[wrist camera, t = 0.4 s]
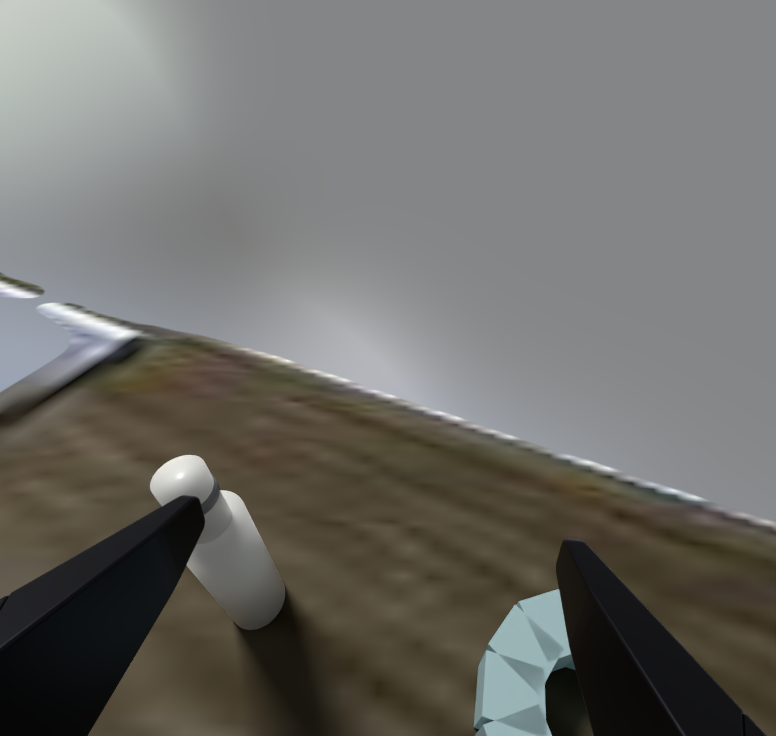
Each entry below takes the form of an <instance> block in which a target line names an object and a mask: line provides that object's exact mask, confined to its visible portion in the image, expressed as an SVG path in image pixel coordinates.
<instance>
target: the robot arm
mask: <svg viewBox="0 0 776 736" xmlns="http://www.w3.org/2000/svg"><path fill="white" fill-rule="evenodd" d="M204 526H205V517H204V513H203V510H202V506H201V502H200V499H199V498H198V497H196V496H188V495H182V496H179V497H177V498H176V499H174V500H172V501H170V502H169V503H167V504H165V505H163V506H162V507H160V508H158V509H156V510H155V511H153V512H151V513H150V514H148V515H146V516H144V517H143V518H141V519H139V520H137V521H136V522H134V523H132V524H130V525H129V526H127V527H125V528H123V529H122V530H120V531H118V532H116V533H115V534H113V535H111V536H110V537H108V538H106V539H104V540H103V541H101V542H99V543H97V544H96V545H94V546H92V547H90V548H89V549H87V550H85V551H83V552H82V553H80V554H78V555H76V556H75V557H73V558H71V559H69V560H68V561H66V562H64V563H63V564H61V565H59V566H57V567H56V568H54V569H52V570H50V571H49V572H47V573H45V574H43V575H42V576H40V577H38V578H36V579H35V580H33V581H31V582H29V583H28V584H26V585H24V586H22V587H21V588H19V589H17V590H15V591H14V592H12V593H11V594H10V595H9V596H5V597H3V598H1V599H0V736H88V734H89V732H90V731H91V729H92V727H93V726H94V724H95V722H96V721H97V719H98V717H99V716H100V714H101V712H102V710H103V709H104V707H105V705H106V704H107V702H108V700H109V699H110V697H111V695H112V694H113V692H114V690H115V689H116V687H117V685H118V684H119V682H120V680H121V679H122V677H123V675H124V673H125V672H126V670H127V668H128V667H129V665H130V663H131V662H132V660H133V658H134V657H135V655H136V653H137V652H138V650H139V648H140V647H141V645H142V643H143V642H144V640H145V638H146V636H147V635H148V633H149V631H150V630H151V628H152V626H153V625H154V623H155V621H156V620H157V618H158V616H159V615H160V613H161V611H162V610H163V608H164V606H165V605H166V603H167V601H168V599H169V598H170V596H171V594H172V592H173V591H174V589H175V587H176V585H177V583H178V581H179V579H180V577H181V575H182V573H183V571H184V569H185V567H186V565H187V563H188V561H189V558H190V556H191V554H192V552H193V550H194V548H195V546H196V544H197V542H198V540H199V538H200V536H201V533H202V531H203V529H204ZM556 574H557V580H558V585H559V591H560V597H561V603H562V609H563V614H564V620H565V626H566V632H567V637H568V642H569V647H570V651H571V655H572V659H573V663H574V667H575V670H576V674H577V678H578V681H579V685H580V688H581V692H582V696H583V699H584V703H585V706H586V710H587V714H588V717H589V721H590V724H591V728H592V732H593V735H594V736H767V735H766V734H765V733H764V732H763V731H762V730H761V729H760V728H759V727H758V726H757V725H756V724H755V723H754V722H753V721H752V719H751V718H750V717H749V716H748V715H746V714H743V712H742V709H741V708H740V707H739V706H738V705H737V704H736V703H735V702H734V700H733V699H732V698H731V697H730V696H729V695H728V694H727V693H726V692H725V691H724V690H723V689H722V688H721V687H720V686H719V684H718V683H717V682H716V681H715V680H714V679H713V678H712V677H711V676H710V675H709V674H708V673H707V672H706V671H705V670H704V668H703V667H702V666H701V665H700V664H699V663H698V662H697V661H696V660H695V659H694V658H693V657H692V656H691V655H690V654H689V652H688V651H687V650H686V649H685V648H684V647H683V646H682V645H681V644H680V643H679V642H678V641H677V640H676V639H675V638H674V636H673V635H672V634H671V633H670V632H669V631H668V630H667V629H666V628H665V627H664V626H663V625H662V624H661V623H660V622H659V620H658V619H657V618H656V617H655V616H654V615H653V614H652V613H651V612H650V611H649V610H648V609H647V608H646V607H645V606H644V604H643V603H642V602H641V601H640V600H639V599H638V598H637V597H636V596H635V595H634V594H633V593H632V592H631V591H630V590H629V588H628V587H627V586H626V585H625V584H624V583H623V582H622V581H621V580H620V579H619V578H618V577H617V576H616V575H615V574H614V572H613V571H612V570H611V569H610V568H609V567H608V566H607V565H606V564H605V563H604V562H603V561H602V560H601V559H600V558H599V556H598V555H597V554H596V553H595V552H594V551H593V550H592V549H591V548H590V547H589V546H588V545H587V544H586V543H585V542H584V541H582V540H576V539H564V540H563V542H562V545H561V548H560V552H559V555H558V559H557V563H556Z"/></svg>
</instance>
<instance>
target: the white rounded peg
mask: <svg viewBox="0 0 776 736" xmlns="http://www.w3.org/2000/svg"><path fill="white" fill-rule="evenodd" d="M150 489H151V492H152V493H153V495H154V496H155V497H156V499H157V500H158V501H159V503H160V506H161V507H162V506H163V505H165V504H167V503H169V502H170V501H172V500H174V499H176V498H177V497H179V496H182V495H188V496H196V497H198V498H199V499H200V502H201V506H202V510H203V513H204V517H205V526H204V529H203V531H202V533H201V536H200V538H199V540H198V542H197V544H196V546H195V548H194V550H193V552H192V554H191V556H190V558H189V561H188V563H187V566H188V568H189V569H190V570H191V571H192V572H193V574H194V575H195V576H196V577H197V578H198V579H199V581H200V582H201V583H202V584H203V585H204V587H205V588H206V589H207V590H208V591H209V593H210V594H211V595H212V596H213V597H214V598H215V600H216V601H217V602H218V603H219V604H220V606H221V607H222V608H223V609H224V610H225V612H226V613H227V614H228V615H229V616H230V617H231V619H232V620H233V621H234V622H235V623H236V624H237V625H238V626H239V627H240V628H242V629H246V630H256V629H259V628H262V627H264V626H266V625H267V624H269V623H270V622H271V621H272V620H273V619H274V618H275V617H276V616H277V615H278V613H279V612H280V610H281V608H282V606H283V603H284V600H285V586H284V583H283V580H282V578H281V576H280V574H279V572H278V570H277V568H276V566H275V564H274V562H273V560H272V558H271V556H270V554H269V553H268V551H267V549H266V547H265V545H264V543H263V541H262V539H261V537H260V535H259V533H258V531H257V529H256V527H255V525H254V523H253V521H252V519H251V517H250V515H249V513H248V511H247V509H246V507H245V505H244V503H243V501H242V499H241V498H240V497H239V496H238V495H236V494H235V493H233V492H230V491H223V490H220V488H219V485H218V483H217V481H216V479H215V478H214V476H213V474H212V473H211V472H210V471H209V469H208V468H207V466H206V464H205V462H204V461H203V459H201V458H200V457H198V456H195V455H184V456H180V457H177V458H174V459H172V460H170V461H168V462H167V463H165V464H164V465H163V466H162V467H160V468H159V469H158V470H157V472H156V473H155V474H154V476H153V478H152V480H151V484H150Z"/></svg>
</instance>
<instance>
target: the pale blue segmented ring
mask: <svg viewBox="0 0 776 736" xmlns="http://www.w3.org/2000/svg"><path fill="white" fill-rule="evenodd" d="M564 667H567V668H570V669H573V670H575V667H574V663H573V659H572V655H571V651H570V647H569V642H568V637H567V632H566V626H565V620H564V614H563V609H562V603H561V597H560V591H559V589H557V590H554V591H551V592H548V593H544V594H541V595H538V596H535V597H532V598H529V599H525V600H522V601H519V602H518V604H517V606H516V605H514V607H513V608H512V610H511V611H510V613H509V614H508V616H507V617H506V619H505V620H504V621H503V623H502V624H501V626H500V627H499V629H498V630H497V632H496V633H495V635H494V636H493V638H492V639H491V641H490V642H489V644H488V646H487V648H486V650H485V652H484V654H483V656H482V659H481V661H480V665H479V667H478V679H477V692H476V705H475V718H474V728H476V729H479V731H478V732H477V733H476V735H475V736H552V734H551V732H550V730H549V727H548V725H547V723H546V708H545V682H546V680H547V678H548V676H549V675H550V673H551V672H553V671H555V670H558V669H561V668H564Z"/></svg>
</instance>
